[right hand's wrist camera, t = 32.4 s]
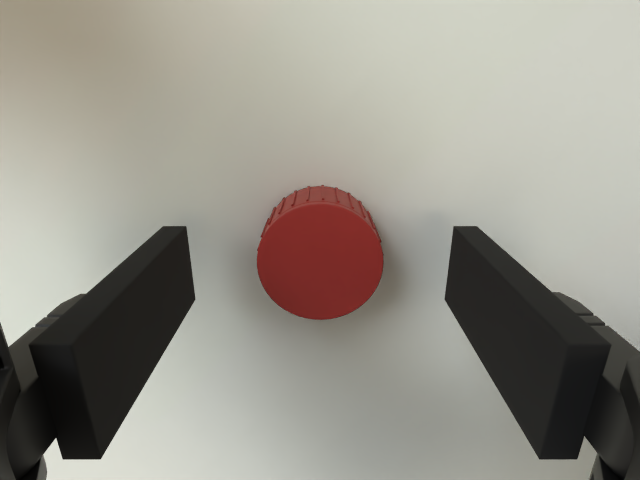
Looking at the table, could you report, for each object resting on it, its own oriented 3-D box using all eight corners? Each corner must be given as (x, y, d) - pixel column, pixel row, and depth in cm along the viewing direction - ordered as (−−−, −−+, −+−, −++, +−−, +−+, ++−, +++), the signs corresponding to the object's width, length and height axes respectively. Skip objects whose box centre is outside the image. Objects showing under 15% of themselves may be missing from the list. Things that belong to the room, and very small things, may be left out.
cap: (328, 160, 15) (330, 174, 12) (397, 246, 16) (410, 274, 14) (241, 230, 16) (228, 256, 13) (312, 306, 17) (311, 342, 14)
